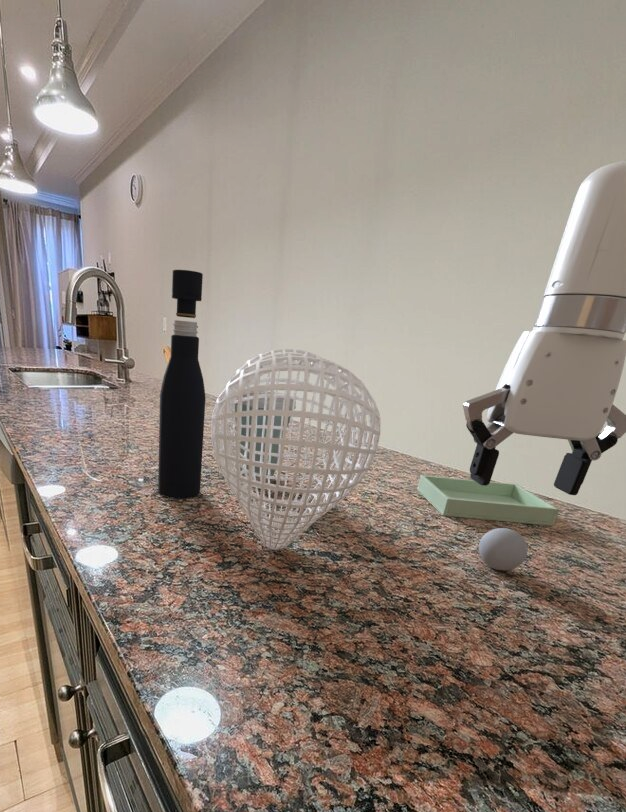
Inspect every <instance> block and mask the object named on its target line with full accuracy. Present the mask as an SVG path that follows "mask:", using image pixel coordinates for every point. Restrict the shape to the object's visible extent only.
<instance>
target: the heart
mask: <svg viewBox="0 0 626 812" xmlns="http://www.w3.org/2000/svg"><path fill="white" fill-rule="evenodd" d="M276 372H277V373H276ZM281 372H287V373H286V377H280V375H281ZM292 372H297V373H296V379H294V378H292ZM301 372H303V373H304V374H303V375H304V377H303V380H301V379H299V378H300V374H301ZM311 374H312V375H315V376H316V379H315V384H314V383H312V382H310V381H309V380H310V376H311ZM264 375H266V378H261V377H263V376H264ZM325 381H326V384H325ZM263 383H266V384H263ZM330 385H331V386H332V387H333V388H334V389H333V388H329V387H330ZM357 389H358V390H357ZM260 391H266V393H265V394H261V395H259V392H260ZM278 391H284V393H282V394H277V393H278ZM291 391H294V392H293V394H291ZM358 391H359V392H358ZM268 392H270V394H268ZM274 392H275V394H274ZM297 392H303V396H298V395H297ZM250 393H254V395H253V396H250ZM308 393H313V394H312V399H310V398H308ZM244 394H247V397H244V398H243V395H244ZM286 394H287V395H286ZM317 394H319V397H318V401H316V397H317ZM327 396H329V397H331V398H332V400H331V404H330V406H328V405H327V404H325V402H326V398H327ZM267 397H270V399H269V410H266V408H267ZM237 398H238V400H236V399H237ZM258 398H265V404H264V410H258ZM276 398H284V402H283V410H275V407H276ZM250 399H253V407H252V410H249V404H250ZM290 399H293V406H292V410H289V403H290ZM246 400H247V411H242V401H246ZM273 400H274V405H273ZM285 401H286V408H285ZM295 401H299V402H300V401H301V402H302V403H301V409H300V410H295V409H294V407H295V406H296V405H295ZM236 403H238V405H237V412H235V404H236ZM307 403H308V404H310V410H309V411H307ZM315 406H317V407H318V409H317V410H318V412H315V411H314V407H315ZM344 406H345V410H344V413H343V414H342V410H343V408H344ZM358 406H359V408H358ZM324 409H325V410H328V414H327V413H323V411H324ZM359 409H360V411H359ZM332 414H333V415H332ZM245 416H246V425H242V422H241V417H245ZM249 416H252V420H251V425H249ZM257 416H263V425H257ZM266 416H268V421H267V425H265V419H266ZM274 416H282V419H281V426H274ZM284 416H285V418H284ZM288 416H290V417H291V418H290V422H289V426H288V427H287V423H288ZM367 416H368V424H367ZM235 417H237V422H236V421H235ZM294 418H299V424H298V427H293V423H294ZM283 419H284V427H283ZM306 419H308V423H307V429H305V423H306ZM271 421H272V425H271ZM312 421H316V428H315V430H314V431H313V430H311V425H312ZM322 423H323V424H325V427H324V429H323V432H321V430H322V429H321V427H322ZM338 424H339V426H338ZM329 425H330V426H332V427H331V430H330V432H328V429H329ZM343 426H344V427H343ZM235 427H236V430H235ZM241 428H246V436H243V435H241ZM249 428H251V434H250V437H249ZM257 428H262V437H256V432H257ZM265 429H267V431H266V437H264V432H265ZM273 429H279V430H280V438H273ZM282 430H283V436H282ZM381 430H382V429H381V414H380V412H379V409H378V407H377V403H376V401H375V398H374V397H373V395H372V394H371V392H370V391H369V389H368V388H367V387H366V385H365V384H364V383H363V382H362V380H361V379H360V378H359V377H357V376H356V375H355V374H354V373H353V372H352V371H350V370H349V369H347V368H346V367H344V366H342V365H340V364H337V363H336V362H334V361H332V360H329V359H327V358H323V357H321V356H319V355H317V354H316V353H313V352H310V351H307V350H302V349H295V348H279V349H271V350H268V351H264V352H261V353H259V354H257V355H254V356H253V357H251V358H249V359H248V360H246V361H245V362H244V363H243V364H242V365H240V367H238V369H236V370H235V372H234V374H233V375H232V377H231V378H230V379H229V381H228V382H227V383H226V384H225V385H224V387H223V389H222V390H221V391H220V393H219V395H218V396H217V398H216V401H215V404H214V408H213V411H212V414H211V424H210V440H211V447H212V451H213V455H214V459H215V461H216V464H217V466H218V469H219V471H220V473H221V475H222V476H223V478H224V480H225V482H226V485H227V486H228V488H229V489H230V491H231V492H232V493H233V494H234V496H235V499H236V500H237V502H238V503H239V505H240V507H241V509H242V511H243V513H244V514H245V516H246V518H247V520H248V521H249V524H250V525H251V527H252V529H253V531H254V532H255V534H256V536H257V537H258V539H259V541H260V542H261V543H262V544H263V545H264V547H266V548H268V549H270V550H275V551H276V550H281V549H284V548H286V547H288V546H289V545H291V543H293V542H294V541H295V540H296V539H297V538H298V537H299V536H301V535H302V534H303V533H304V532H305V531H307V529H309V528H310V527H311V526H312V525H313V524H314V523H315V522H316V521H318V519H320V518H321V517H323V516H324V515H326V514H327V513H329V511H331V510H333V508H335V507H336V506H337V505H338V504H339V503H340V502H342V501H343V500H344V499H346V497H347V496H349V495H350V494H351V492H352V491H353V490H354V489H356V487H357V486H358V485H359V484H360V483H362V481H363V479H364V477H365V476H366V474H367V473H368V471H369V470H370V467H371V466H372V463H373V461H374V458H375V457H376V454H377V451H378V447H379V442H380V437H381ZM287 431H288V433H289V436H288V438H287ZM270 432H271V436H270ZM292 432H297V439H292ZM235 434H236V436H235ZM304 434H306V437H305V440H304V439H303V438H304ZM310 435H314V441H311V440H309V438H310ZM338 435H339V436H338ZM356 435H357V438H356ZM367 435H368V436H367ZM320 436H322V442H320V438H321V437H320ZM329 436H330V437H329ZM327 437H329V438H330V439H328V440H326V439H327ZM367 437H368V438H367ZM240 441H244V442H246V443H245V447H244V446H243V445H241V444H240ZM248 442H250V449H248ZM256 442H257V443H261V452H260V451H255V449H256ZM264 443H265V452H263V445H264ZM269 443H270V448H269ZM272 444H279V452H278V454H277V453H271V450H272ZM281 444H282V445H281ZM286 446H288V447H287V453H285V447H286ZM291 446H292V447H293V446H294V447H296V454H291ZM302 447H303V448H304V455H303V454H302ZM240 448H242V449H243V450H245V453H244V456H243V455H242V454H241V453H240ZM308 448H312V449H313V452H312V454H308ZM319 449H322V450H321V452H319ZM268 451H269V453H268ZM280 451H281V452H280ZM247 452H249V459H247ZM255 454H259V455H260V462H259V461H255ZM263 455H264V462H262V461H263ZM268 456H269V461H268ZM271 456H274V457H278V462H277V464H273V463H271ZM321 456H322V459H321V460H319V461H318V462H317V458H319V457H321ZM352 456H353V457H352ZM240 457H241V458H240ZM284 458H286V461H287V462H286V464H283V463H284ZM290 459H295V465H290ZM309 459H311V463H310V465H307V464H308V463H307V462H308V460H309ZM300 460H303V466H300ZM267 461H268V463H267ZM242 464H243V465H242ZM322 464H323V467H319V466H321V465H322ZM246 465H249V470H247V469H246ZM240 467H241V468H242V471H241V472H240ZM255 467H260V474H258V473H255ZM262 468H263V473H262ZM267 469H268V475H266V471H267ZM270 469H273V470H275V471H276V476H275V475H273V476H270ZM282 472H285V476H282ZM289 472H290V473H293V476H292V477H289ZM243 473H244V474H245V477H244V476H242V474H243ZM247 473H248V474H249V475H248V474H247ZM298 473H299V474H302V476H300V477H298ZM306 474H309V475H308V476H306ZM320 475H322V477H321V478H318V477H319V476H320ZM255 476H257V477H260V481H257V480H256V477H255ZM252 477H253V479H252ZM266 478H267V479H268V480H266ZM265 480H266V481H267V482H266V481H265ZM271 480H276V481H275V484H274V483H271ZM281 481H284V483H283V484H284V485H281V484H280V483H281ZM305 481H307V484H306V487H303V486H304V484H305ZM288 482H291V486H287V485H288ZM297 482H300V483H299V486H298V487H296V483H297ZM314 482H316V484H315V486H314V487H312V485H313V484H314ZM253 488H254V490H255V493H254V490H253ZM259 489H260V493H259ZM265 490H267V492H268V493H267V494H268V495H267V496H268V497H265ZM271 491H274V495H273V498H272V497H271ZM279 492H282V496H281V497H282V498H281V499H280V498H279V499H278V495H279ZM286 493H289V495H288V499H285V495H286ZM294 494H295V497H294ZM300 494H302V496H301V498H300V500H299V496H300ZM293 497H294V499H293ZM312 497H313V499H312ZM311 499H312V500H311ZM266 504H268V508H267V507H266ZM271 505H272V506H271ZM277 506H278V507H279V509H280V510H277ZM284 507H285V509H284V510H283V508H284ZM267 514H268V516H267ZM276 517H278V518H276ZM282 517H283V519H281V518H282ZM276 529H277V530H276Z"/></svg>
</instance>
